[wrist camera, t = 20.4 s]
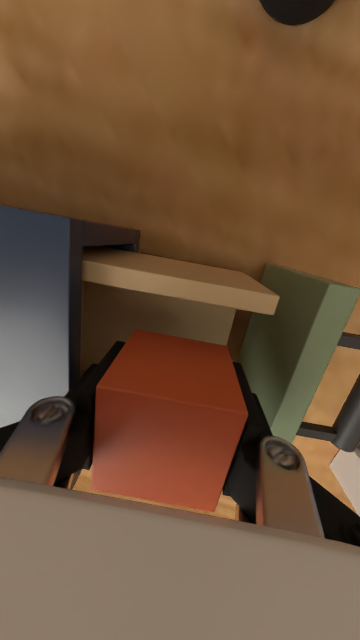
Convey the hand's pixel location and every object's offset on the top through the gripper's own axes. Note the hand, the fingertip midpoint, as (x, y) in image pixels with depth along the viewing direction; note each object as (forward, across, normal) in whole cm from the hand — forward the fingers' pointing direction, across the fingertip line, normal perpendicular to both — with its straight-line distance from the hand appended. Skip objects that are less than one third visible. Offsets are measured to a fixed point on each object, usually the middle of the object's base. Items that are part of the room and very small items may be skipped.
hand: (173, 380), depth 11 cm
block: (0, 0, 0) cm, 0 cm away
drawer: (+6, -2, 0) cm, 7 cm away
